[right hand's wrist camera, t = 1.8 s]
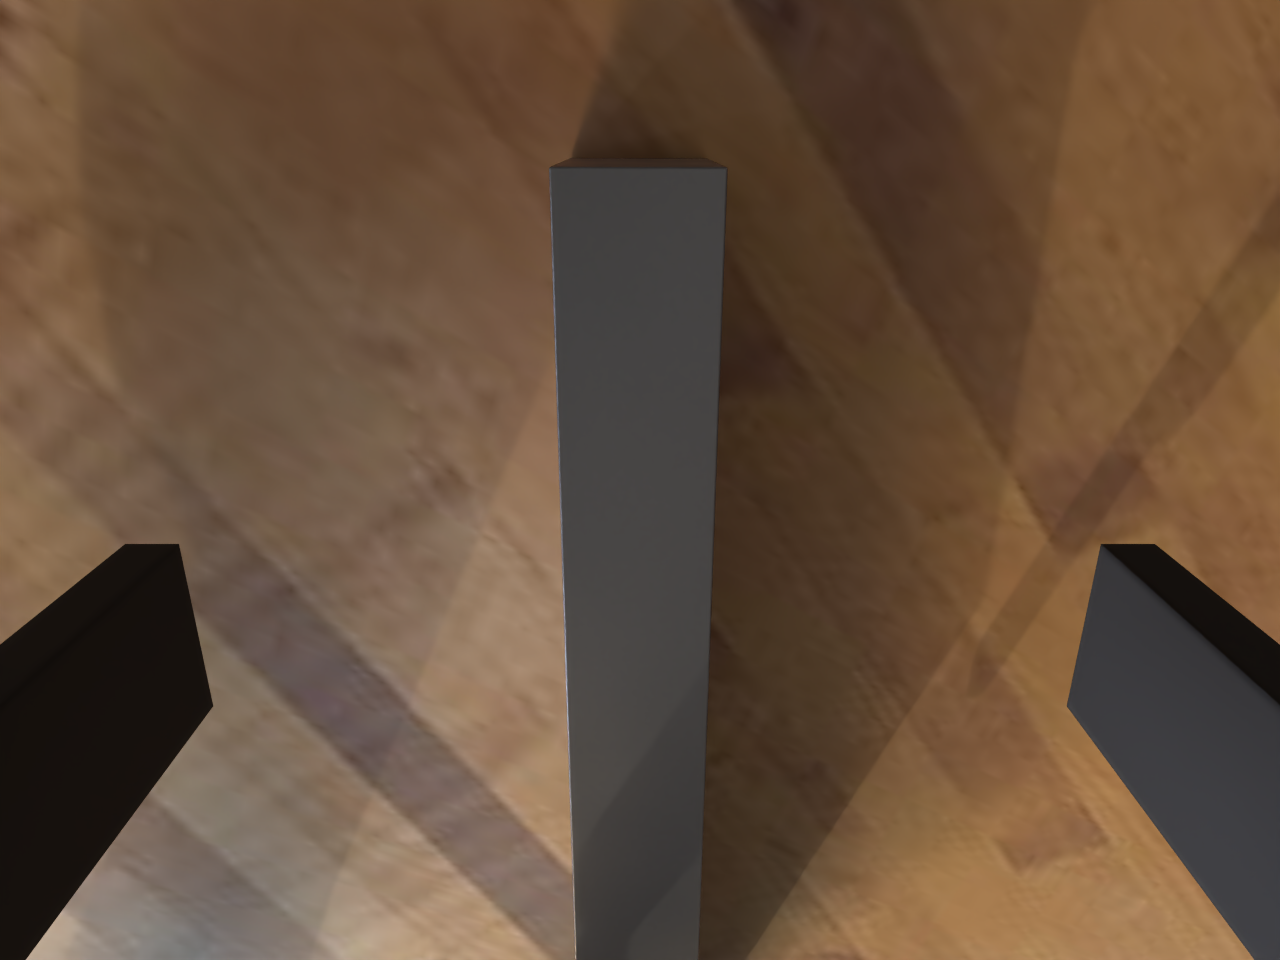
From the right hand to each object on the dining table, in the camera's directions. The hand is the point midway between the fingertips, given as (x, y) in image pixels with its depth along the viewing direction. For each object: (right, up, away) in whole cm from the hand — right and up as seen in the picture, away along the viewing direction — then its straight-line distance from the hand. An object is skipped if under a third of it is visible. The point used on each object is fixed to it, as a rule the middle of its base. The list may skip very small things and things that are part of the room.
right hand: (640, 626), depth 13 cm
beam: (0, -9, +31) cm, 32 cm away
